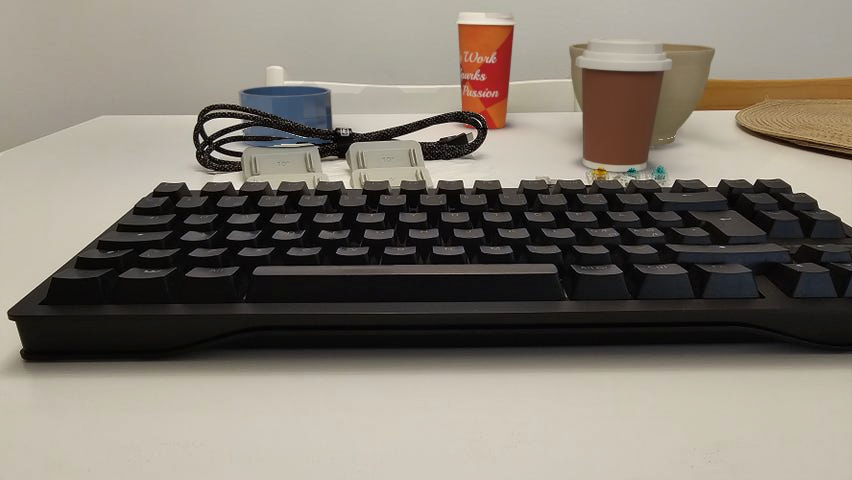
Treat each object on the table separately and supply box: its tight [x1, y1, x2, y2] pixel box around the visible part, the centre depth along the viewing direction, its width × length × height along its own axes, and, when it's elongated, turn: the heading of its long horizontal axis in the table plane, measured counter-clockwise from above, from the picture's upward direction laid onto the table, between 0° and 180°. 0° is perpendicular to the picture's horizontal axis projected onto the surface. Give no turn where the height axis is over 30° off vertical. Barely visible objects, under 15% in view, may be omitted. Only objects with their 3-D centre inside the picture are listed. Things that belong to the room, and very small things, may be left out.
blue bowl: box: [237, 85, 335, 147], centre depth 78 cm, size 10×10×6 cm
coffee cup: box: [576, 37, 672, 173], centre depth 67 cm, size 9×9×12 cm
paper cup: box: [455, 11, 517, 130], centre depth 88 cm, size 8×8×14 cm
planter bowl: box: [568, 42, 716, 148], centre depth 80 cm, size 16×16×11 cm
